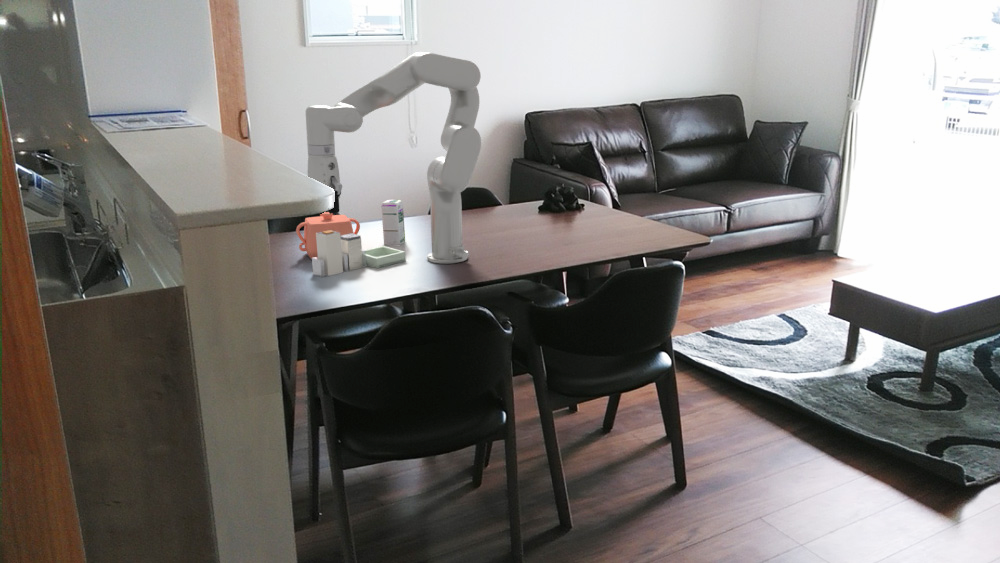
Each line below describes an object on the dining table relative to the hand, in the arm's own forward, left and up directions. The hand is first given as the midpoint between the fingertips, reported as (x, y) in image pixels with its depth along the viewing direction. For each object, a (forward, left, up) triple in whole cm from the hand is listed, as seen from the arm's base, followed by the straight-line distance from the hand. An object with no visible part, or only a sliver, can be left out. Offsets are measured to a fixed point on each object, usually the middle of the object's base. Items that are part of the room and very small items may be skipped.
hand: (324, 210), depth 229 cm
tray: (-1, -18, -19) cm, 26 cm away
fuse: (0, 0, -19) cm, 19 cm away
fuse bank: (0, -4, -19) cm, 19 cm away
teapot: (+20, -13, -19) cm, 30 cm away
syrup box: (+14, -35, -19) cm, 42 cm away
